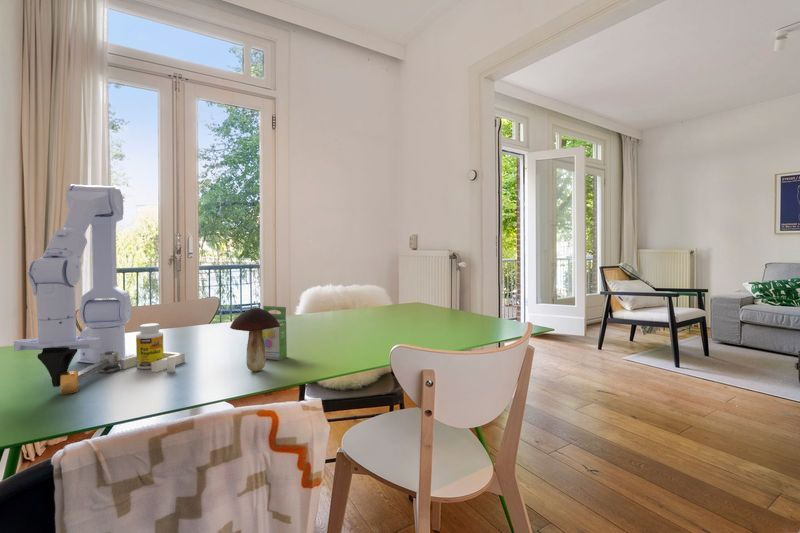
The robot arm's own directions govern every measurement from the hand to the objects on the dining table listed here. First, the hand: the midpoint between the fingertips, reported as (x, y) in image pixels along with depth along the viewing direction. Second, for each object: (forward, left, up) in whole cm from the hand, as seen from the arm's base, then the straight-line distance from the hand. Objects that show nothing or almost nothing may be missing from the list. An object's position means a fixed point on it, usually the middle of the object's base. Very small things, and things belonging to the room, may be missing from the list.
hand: (59, 385), depth 79 cm
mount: (-3, +13, -1) cm, 14 cm away
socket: (+3, +19, -1) cm, 19 cm away
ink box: (+27, +33, -2) cm, 43 cm away
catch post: (+11, +16, -1) cm, 20 cm away
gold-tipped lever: (-1, +7, -1) cm, 7 cm away
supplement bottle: (+3, +19, -2) cm, 19 cm away
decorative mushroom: (+30, +22, -2) cm, 37 cm away
